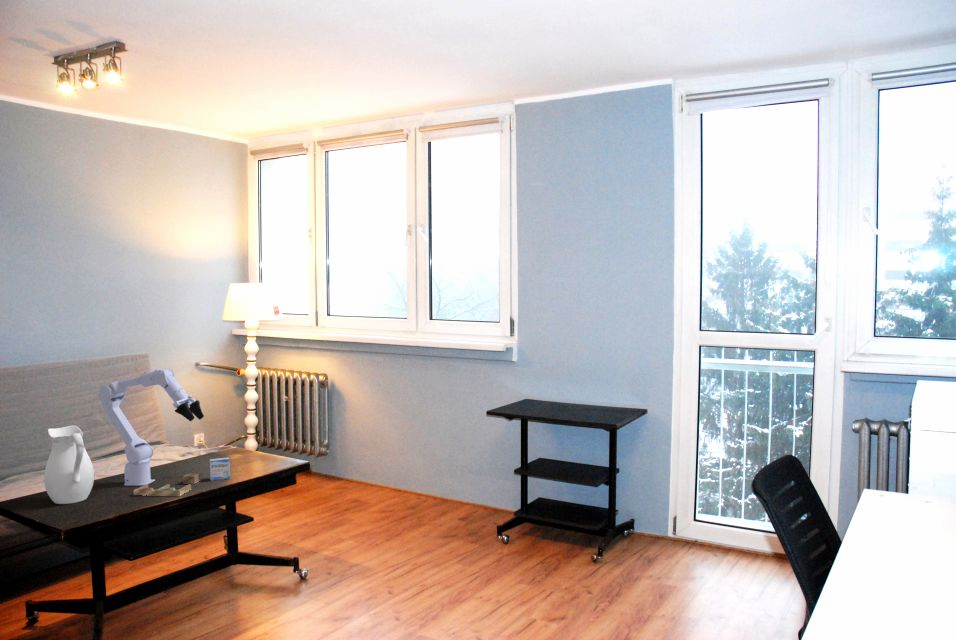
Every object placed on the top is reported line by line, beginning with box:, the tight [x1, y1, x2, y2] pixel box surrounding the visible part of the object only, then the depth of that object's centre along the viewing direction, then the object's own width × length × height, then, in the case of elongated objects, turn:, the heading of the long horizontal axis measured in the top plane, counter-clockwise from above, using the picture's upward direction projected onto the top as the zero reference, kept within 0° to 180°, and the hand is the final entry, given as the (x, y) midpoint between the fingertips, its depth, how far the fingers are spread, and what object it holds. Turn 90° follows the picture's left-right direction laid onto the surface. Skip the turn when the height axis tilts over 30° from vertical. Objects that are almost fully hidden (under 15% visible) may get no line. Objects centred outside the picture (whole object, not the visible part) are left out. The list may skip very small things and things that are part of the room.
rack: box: [132, 483, 192, 497], centre depth 298 cm, size 19×9×3 cm, turn 84°
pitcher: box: [43, 424, 95, 505], centre depth 287 cm, size 24×17×28 cm
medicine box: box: [209, 456, 231, 482], centre depth 317 cm, size 8×4×9 cm, turn 112°
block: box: [182, 472, 201, 485], centre depth 312 cm, size 5×5×4 cm
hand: (197, 418), depth 306 cm, fingers open, 7 cm apart
